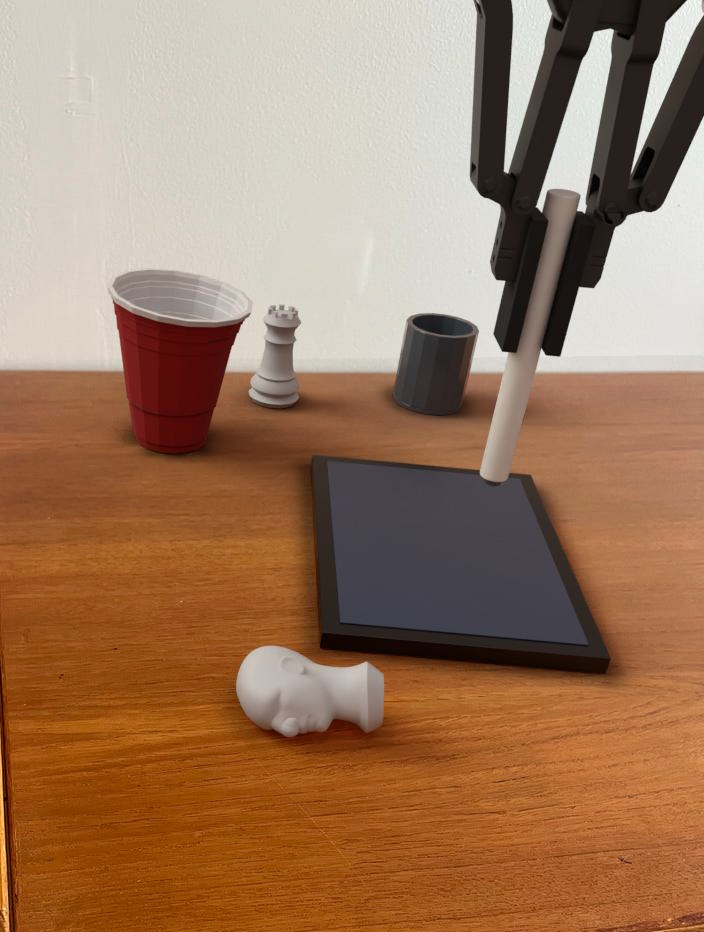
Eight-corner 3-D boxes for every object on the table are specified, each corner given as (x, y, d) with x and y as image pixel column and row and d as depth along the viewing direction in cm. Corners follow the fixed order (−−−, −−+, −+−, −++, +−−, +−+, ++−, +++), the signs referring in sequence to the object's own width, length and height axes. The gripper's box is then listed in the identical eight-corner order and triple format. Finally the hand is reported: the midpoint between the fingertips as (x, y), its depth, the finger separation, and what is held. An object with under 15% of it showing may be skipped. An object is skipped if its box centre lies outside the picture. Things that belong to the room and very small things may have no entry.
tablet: (527, 488, 80) (531, 473, 80) (605, 674, 61) (612, 657, 60) (310, 468, 80) (312, 453, 80) (319, 648, 61) (322, 631, 60)
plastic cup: (220, 480, 77) (233, 322, 70) (84, 453, 79) (84, 297, 72) (254, 425, 86) (269, 279, 79) (131, 402, 88) (135, 258, 81)
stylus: (503, 477, 60) (576, 190, 50) (508, 490, 58) (584, 197, 49) (475, 474, 60) (544, 187, 50) (480, 487, 58) (551, 194, 49)
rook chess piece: (300, 393, 93) (311, 304, 88) (296, 412, 89) (307, 321, 84) (251, 387, 93) (259, 297, 88) (244, 406, 89) (253, 314, 85)
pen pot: (456, 391, 96) (472, 316, 92) (466, 418, 91) (483, 340, 87) (390, 385, 96) (403, 310, 92) (396, 411, 91) (410, 333, 87)
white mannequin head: (222, 741, 55) (250, 667, 58) (369, 778, 53) (390, 700, 56) (219, 695, 52) (249, 619, 55) (376, 733, 50) (398, 652, 53)
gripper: (503, -271, 37) (394, 358, 51) (903, -235, 37) (687, 384, 51) (472, -247, 43) (381, 310, 57) (816, -216, 44) (643, 333, 57)
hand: (526, 344), depth 54 cm, fingers closed on stylus, 2 cm apart
